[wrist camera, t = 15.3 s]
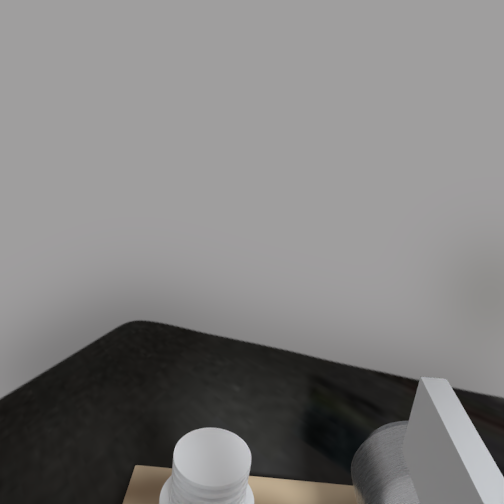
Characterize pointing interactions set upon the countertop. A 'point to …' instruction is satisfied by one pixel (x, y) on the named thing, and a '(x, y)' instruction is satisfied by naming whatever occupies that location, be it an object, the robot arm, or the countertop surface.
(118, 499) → the countertop surface
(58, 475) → the countertop surface
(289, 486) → the mounting board
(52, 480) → the countertop surface
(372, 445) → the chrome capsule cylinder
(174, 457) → the downlight
